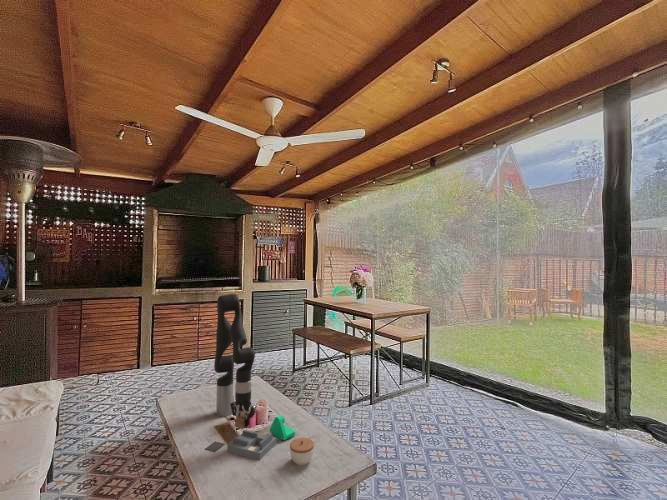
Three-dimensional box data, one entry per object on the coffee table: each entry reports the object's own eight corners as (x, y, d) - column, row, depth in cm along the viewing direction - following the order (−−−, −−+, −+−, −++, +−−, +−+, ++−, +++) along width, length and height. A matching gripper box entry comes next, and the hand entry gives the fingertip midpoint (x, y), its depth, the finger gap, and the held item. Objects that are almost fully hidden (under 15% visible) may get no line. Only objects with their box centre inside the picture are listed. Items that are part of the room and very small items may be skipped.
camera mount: (296, 436, 169) (296, 416, 170) (284, 442, 164) (284, 421, 164) (281, 428, 178) (281, 408, 178) (269, 433, 172) (270, 413, 172)
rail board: (245, 436, 168) (245, 424, 169) (276, 443, 162) (276, 431, 162) (227, 451, 155) (227, 438, 156) (260, 459, 149) (260, 446, 149)
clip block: (242, 422, 164) (242, 413, 164) (249, 424, 162) (249, 414, 163) (236, 427, 159) (236, 417, 159) (243, 428, 158) (243, 419, 158)
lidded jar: (291, 454, 154) (292, 433, 154) (314, 454, 153) (315, 434, 154) (288, 468, 143) (288, 446, 143) (312, 469, 143) (312, 447, 143)
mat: (215, 441, 164) (215, 441, 164) (225, 444, 161) (225, 443, 161) (204, 449, 157) (204, 448, 157) (215, 452, 155) (215, 451, 155)
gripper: (260, 389, 162) (259, 424, 162) (236, 385, 168) (235, 419, 167) (251, 394, 155) (250, 431, 155) (226, 390, 161) (225, 426, 160)
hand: (242, 425), depth 161 cm, fingers closed on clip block, 4 cm apart
